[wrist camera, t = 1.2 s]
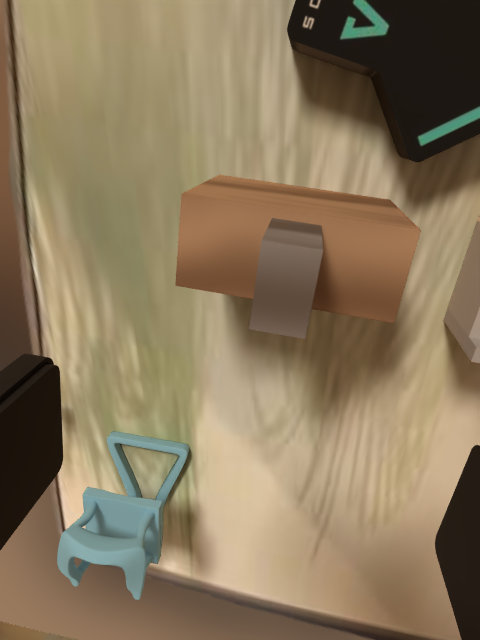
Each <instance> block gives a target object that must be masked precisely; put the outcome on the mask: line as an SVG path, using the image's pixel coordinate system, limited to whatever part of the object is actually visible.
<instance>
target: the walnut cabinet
mask: <svg viewBox="0 0 480 640" xmlns="http://www.w3.org/2000/svg"><path fill="white" fill-rule="evenodd" d="M420 232H421V230H420V229H419V228H418V227H417V226H416V225H415V224H414V223H413V222H412V221H411V220H410V219H409V218H408V217H407V216H406V215H405V214H404V213H403V212H402V211H401V210H400V209H399V208H398V207H397V206H396V205H395V204H394V203H393V202H392V201H391V200H388V199H381V198H374V197H367V196H360V195H353V194H347V193H340V192H333V191H326V190H319V189H313V188H306V187H299V186H292V185H285V184H278V183H272V182H265V181H258V180H251V179H244V178H238V177H231V176H224V175H218V176H216V177H214V178H212V179H210V180H208V181H206V182H204V183H202V184H200V185H198V186H196V187H194V188H192V189H190V190H188V191H186V192H184V193H182V197H181V211H180V226H179V241H178V256H177V271H176V286H181V287H187V288H192V289H198V290H204V291H210V292H216V293H222V294H228V295H233V296H239V297H245V298H251V299H253V303H252V310H251V316H250V323H249V329H250V330H256V331H261V332H267V333H273V334H278V335H284V336H289V337H295V338H301V339H305V337H306V332H307V327H308V322H309V317H310V313H311V309H315V310H321V311H327V312H333V313H339V314H345V315H351V316H356V317H362V318H368V319H374V320H380V321H386V322H391V323H394V321H395V318H396V314H397V311H398V308H399V304H400V301H401V297H402V294H403V290H404V287H405V283H406V280H407V277H408V273H409V270H410V266H411V263H412V259H413V256H414V252H415V249H416V246H417V242H418V239H419V235H420Z"/></svg>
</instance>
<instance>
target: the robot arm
mask: <svg viewBox="0 0 480 640" xmlns="http://www.w3.org/2000/svg"><path fill="white" fill-rule="evenodd" d="M62 462H63V441H62V416H61V391H60V371H59V367H58V366H56V365H54V363H53V361H52V359H51V358H48V357H43V356H37V355H32V354H23V355H21V356H20V357H19V358H18V359H16V360H15V361H14V362H12V363H11V364H10V365H8V366H7V367H6V368H4V369H3V370H2V371H1V372H0V550H1V549H2V547H3V546H4V545H5V543H6V542H7V541H8V539H9V538H10V537H11V535H12V534H13V533H14V531H15V530H16V529H17V527H18V526H19V525H20V523H21V522H22V521H23V519H24V518H25V516H26V515H27V514H28V513H29V511H30V510H31V509H32V507H33V506H34V504H35V503H36V502H37V501H38V499H39V498H40V497H41V495H42V494H43V493H44V491H45V490H46V488H47V487H48V486H49V485H50V483H51V482H52V481H53V479H54V478H55V477H56V475H57V474H58V472H59V470H60V468H61V465H62ZM435 549H436V554H437V558H438V561H439V565H440V568H441V571H442V575H443V578H444V581H445V585H446V588H447V591H448V595H449V598H450V601H451V605H452V608H453V612H454V615H455V618H456V622H457V625H458V628H459V632H460V635H461V638H462V640H480V446H479V445H475V446H474V447H473V448H472V450H471V452H470V455H469V457H468V460H467V462H466V464H465V467H464V469H463V472H462V474H461V477H460V479H459V481H458V484H457V486H456V489H455V491H454V494H453V496H452V498H451V501H450V503H449V506H448V508H447V511H446V513H445V515H444V518H443V520H442V523H441V525H440V528H439V530H438V532H437V535H436V540H435ZM0 640H76V639H72V638H68V637H64V636H60V635H55V634H51V633H47V632H43V631H39V630H34V629H30V628H26V627H21V626H17V625H13V624H9V623H4V622H1V621H0Z"/></svg>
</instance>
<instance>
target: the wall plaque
mask: <svg viewBox="0 0 480 640" xmlns="http://www.w3.org/2000/svg"><path fill="white" fill-rule="evenodd" d="M287 32H288V36H289V40H290V43H291V46H292V48H293V49H294V50H296V51H298V52H300V53H303V54H306V55H308V56H311V57H314V58H317V59H319V60H322V61H325V62H328V63H331V64H333V65H336V66H339V67H342V68H345V69H347V70H350V71H353V72H356V73H359V74H362V75H365V76H368V77H370V78H371V80H372V82H373V85H374V88H375V91H376V94H377V96H378V99H379V102H380V105H381V108H382V110H383V113H384V116H385V119H386V122H387V124H388V127H389V130H390V133H391V136H392V138H393V141H394V144H395V147H396V149H397V152H398V154H399V155H400V156H401V157H403V158H405V159H408V160H411V161H414V162H420V161H423V160H425V159H427V158H429V157H431V156H433V155H435V154H437V153H439V152H442V151H444V150H446V149H448V148H450V147H452V146H454V145H457V144H459V143H461V142H463V141H465V140H467V139H470V138H472V137H474V136H476V135H478V134H480V0H296V1H295V4H294V7H293V10H292V13H291V17H290V20H289V23H288V28H287Z"/></svg>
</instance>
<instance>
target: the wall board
mask: <svg viewBox="0 0 480 640" xmlns="http://www.w3.org/2000/svg"><path fill="white" fill-rule="evenodd" d="M444 322H445V323H446V325H447V326H448V328H449V329H450V331H451V332H452V334H453V335H454V337H455V338H456V340H457V341H458V343H459V344H460V346H461V347H462V349H463V350H464V352H465V353H466V355H467V356H468V358H469V359H470V361H471V362H476V363H480V215H479V217H478V220H477V223H476V226H475V229H474V232H473V235H472V238H471V241H470V244H469V247H468V250H467V253H466V256H465V259H464V262H463V265H462V268H461V271H460V273H459V276H458V279H457V282H456V285H455V288H454V291H453V294H452V297H451V300H450V303H449V306H448V309H447V312H446V315H445V318H444Z"/></svg>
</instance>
